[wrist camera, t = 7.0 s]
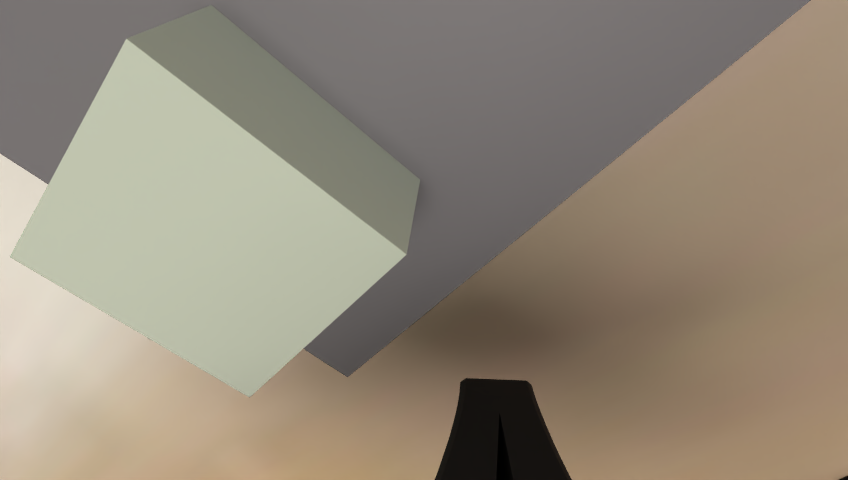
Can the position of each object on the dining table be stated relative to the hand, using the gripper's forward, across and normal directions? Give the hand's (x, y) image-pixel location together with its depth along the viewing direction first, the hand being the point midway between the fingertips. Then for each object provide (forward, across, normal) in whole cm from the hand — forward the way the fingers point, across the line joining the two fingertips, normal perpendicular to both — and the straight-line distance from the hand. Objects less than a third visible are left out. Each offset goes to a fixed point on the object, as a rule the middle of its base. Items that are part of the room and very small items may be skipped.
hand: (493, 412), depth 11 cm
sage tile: (+2, +5, -4) cm, 7 cm away
